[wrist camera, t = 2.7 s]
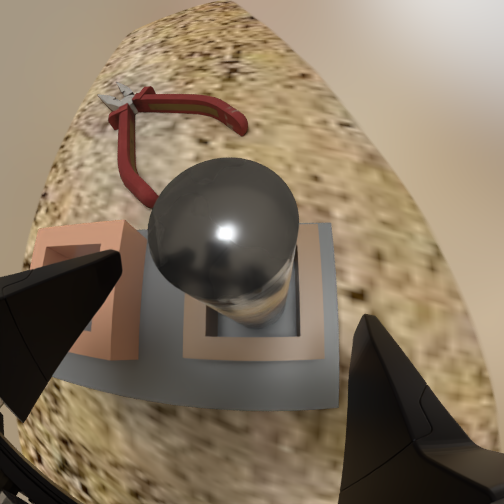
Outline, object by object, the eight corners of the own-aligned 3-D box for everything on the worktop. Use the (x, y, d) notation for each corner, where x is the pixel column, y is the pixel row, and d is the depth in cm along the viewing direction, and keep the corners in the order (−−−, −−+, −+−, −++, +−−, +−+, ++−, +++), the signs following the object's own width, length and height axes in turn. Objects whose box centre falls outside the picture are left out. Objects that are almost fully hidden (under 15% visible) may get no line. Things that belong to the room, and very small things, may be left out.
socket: (138, 359, 17) (110, 360, 13) (52, 343, 17) (22, 339, 14) (147, 239, 19) (124, 219, 16) (64, 244, 20) (38, 228, 17)
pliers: (146, 69, 29) (140, 55, 27) (256, 132, 23) (253, 112, 21) (76, 124, 27) (66, 112, 25) (154, 219, 22) (140, 204, 19)
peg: (286, 328, 17) (303, 297, 6) (227, 328, 17) (139, 297, 6) (285, 270, 18) (293, 154, 7) (228, 271, 18) (159, 164, 7)
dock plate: (335, 404, 16) (350, 419, 12) (54, 374, 18) (21, 374, 14) (328, 228, 19) (339, 201, 16) (67, 239, 21) (39, 222, 18)
